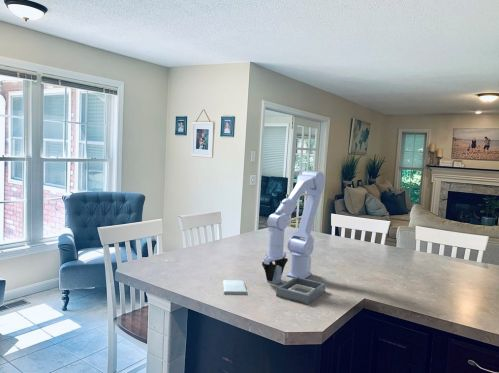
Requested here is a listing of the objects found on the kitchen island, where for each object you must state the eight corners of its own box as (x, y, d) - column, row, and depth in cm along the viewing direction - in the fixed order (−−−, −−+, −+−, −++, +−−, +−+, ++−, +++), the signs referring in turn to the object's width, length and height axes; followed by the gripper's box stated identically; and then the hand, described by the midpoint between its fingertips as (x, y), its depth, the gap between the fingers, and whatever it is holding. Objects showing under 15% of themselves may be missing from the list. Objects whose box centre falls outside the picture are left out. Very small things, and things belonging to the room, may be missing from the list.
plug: (272, 279, 155) (273, 263, 154) (280, 281, 152) (281, 265, 152) (267, 282, 151) (268, 265, 151) (276, 284, 149) (277, 267, 148)
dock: (295, 284, 150) (296, 276, 150) (325, 291, 144) (325, 283, 143) (276, 296, 137) (276, 287, 136) (307, 304, 130) (308, 295, 130)
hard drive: (246, 291, 137) (243, 279, 149) (223, 291, 136) (222, 279, 148) (246, 296, 137) (243, 284, 149) (223, 295, 136) (222, 283, 148)
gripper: (276, 239, 159) (274, 271, 160) (257, 245, 147) (256, 280, 148) (291, 242, 155) (289, 275, 156) (274, 249, 143) (272, 284, 144)
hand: (274, 278), depth 152 cm, fingers open, 7 cm apart
